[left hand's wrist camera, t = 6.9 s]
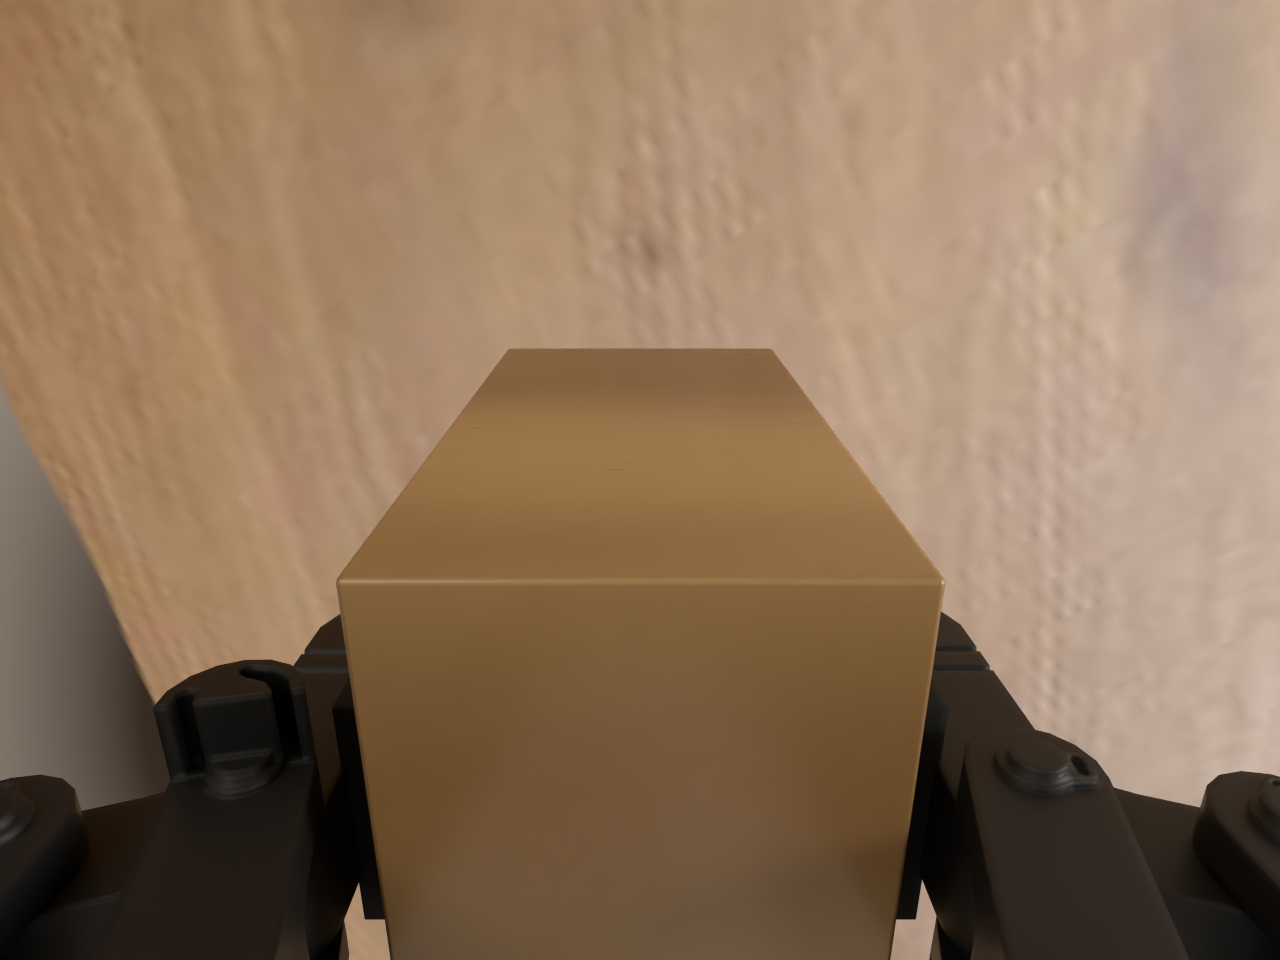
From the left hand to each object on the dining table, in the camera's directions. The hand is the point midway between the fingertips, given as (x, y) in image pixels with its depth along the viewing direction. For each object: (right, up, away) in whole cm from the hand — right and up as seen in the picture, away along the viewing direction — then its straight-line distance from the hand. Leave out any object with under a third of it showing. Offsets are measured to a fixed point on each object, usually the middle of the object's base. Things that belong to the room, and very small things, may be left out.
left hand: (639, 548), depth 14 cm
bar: (0, -8, +4) cm, 9 cm away
